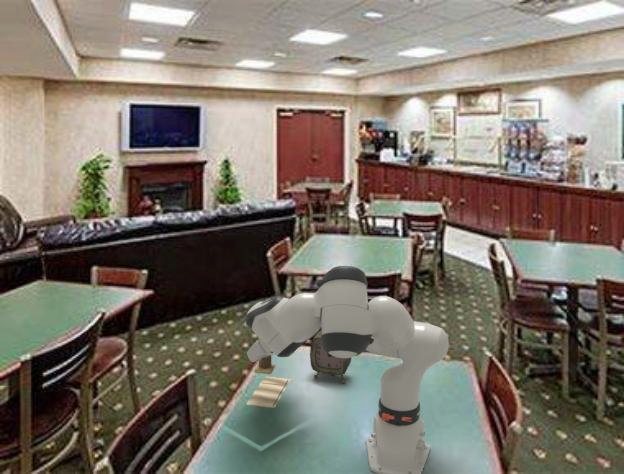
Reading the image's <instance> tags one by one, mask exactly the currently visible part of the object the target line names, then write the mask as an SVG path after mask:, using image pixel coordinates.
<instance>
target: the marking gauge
mask: <svg viewBox="0 0 624 474" xmlns="http://www.w3.org/2000/svg"><path fill="white" fill-rule="evenodd" d="M275 369H276V363H272V356H271V355H269V356H267V357H264V358H263V359H262V360H258V365H256V366H255V368H254V373H257V374H262V375H264V374H266V375H272V373H273V371H274V370H275Z"/></svg>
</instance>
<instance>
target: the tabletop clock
mask: <svg viewBox="0 0 624 474" xmlns="http://www.w3.org/2000/svg"><path fill="white" fill-rule="evenodd" d="M321 336H322V330H319V331H318V332H317V333H316V334H315V335H314V336H313V338H312V340H311V344H310V351H309V358H310V366H311V369H312V370H313V371H314V372H316V374H314V375H313V379H314V380H317V379H318V378H319V374H323V375H329V376H331V377H333V376H340V378H341V380H340V381H341V383H342V384H345V383H346V379H345V378H344V375H345V374H346V373H347V370H348V368H349V367H350V365H351V363H352V358H353V357H351V358H337V357H334V356H332V355H329V354H327V353H326V352H325V351H324V350H323V347H322V342H321Z"/></svg>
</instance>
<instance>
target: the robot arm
mask: <svg viewBox="0 0 624 474" xmlns="http://www.w3.org/2000/svg"><path fill="white" fill-rule="evenodd" d="M368 286H369V285H368V280H367V276H366V274H365V272H364V270H361V268H359V267H356V266H350V265H338V266H334V267H332V268H331V269H330V270H328V271H327V272H325V274H324V275H323V277H322V279H320V280H317V281H316V287H317V290H316V291H315V292H303V293H299V294H295V295H293V296H292V297H291V298H287V297H284V296H281V295H276V296H272V297H271V298H268V299H266V300H262V301H259V302H256V303H255V304H254V305H253V306H251V307H250V308H249V310H248V311H247V313H246V315H245V325H246V326H247V327H248V328H249V329H250V330H251V331H252V332H254V334H255V335H256V336H257V337H258V339H257V340H256V341H255V342H254V343H252V346H250V348H249V349H248V350H247V351H246V355H247V358H248V359H249V361H250V362H251V363H254V362H257V361H259V360H262V359H263V358H264V357H267V356H269V355H271V357H272V356H273V355H275V356H276V357H278V358H289V357H291V355H292V354H294V353H295V352H296V351H297V350H298V349H299V348H300V347H302V346H303V344H304V343H305V342H306V341H307V340H309V339H311V338H312V337H315V336H316V334H317V333H318V332H319V331H320V329H321V331H322V336H321V342H322V347H323V350H324V351H325V352H326V353H327V354H329V355H332V356H334V357H337V358H351V357H352V358H354V357H357V356H359V355H362V353H364V352H365V351H367V352H370V353H372V354H374V355H378V356H384V357H387V358H394V359H400V360H402V363H401V364H398V365H395V366H392V367H389V368H388V369H386V370H385V371H384V372H383V373H382V376H381V378H380V379H381V381H380V398H379V400H378V405H377V406H378V412H377V413H376V414H375V415H374V416H373V423H372V426H373V427H372V433H371V435H370V436H367V437H366V439H365V446H366V453H367V460H368V465H369V470H370V471H372V472H373V473H376V474H421V473H422V474H423V471H424V469H423V468H425V465H426V462H427V459H428V457H429V454H430V452H431V445H429V443H427V442H425V439H424V438H425V435H426V431H425V421H424V420H423V419H422V418H421V403H420V391H421V383H422V380H423V377H424V375H425V374H426V372H427V371H428V370H429V369H430V368H431V367H432V366H434V365H436V364H437V363H440V362H441V361H442V360H443V359H444V358H445V357H446V356H447V354H448V351H449V345H450V342H449V337H448V334H447V332H446V331H445V329H444V328H443V327H440V326H438V325H437V326H436V325H433V324H431V323H428V322H423V321H415V320H414V319H413V318H412V315H411V314H410V312H408V310H407V309H406V308H407V307H405V306H404V305H403V304H402V303H401V302H400V301H398V300H396V299H395V298H392V297H390V296H388V295H387V296H386V295H379V296H375V297H373V298H371V299H370V300H368V298H369V297H368V291H367V290H368ZM352 358H351V359H352Z"/></svg>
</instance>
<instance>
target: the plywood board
mask: <svg viewBox="0 0 624 474" xmlns="http://www.w3.org/2000/svg"><path fill="white" fill-rule="evenodd" d="M291 380H292V379H291V378H285V377H274V376H267V375H266V376H264V377H263V378H262V380H261V382H260V383H259V384H258V386H257V388H256V389H255V390H254V392H253V393H252V395H251V397H250V398H249V399H248V400H247V402H246V404H245V405H246V406H252V407H253V406H254V407H261V408H267V409H269V408H271V409H275V408H276V406H277V405H278V403H279V401H280V399H281V398H282V396H283V394H284V392H285V390H286V388H288V387H287V386H288V385H289V383H290V381H291Z"/></svg>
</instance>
